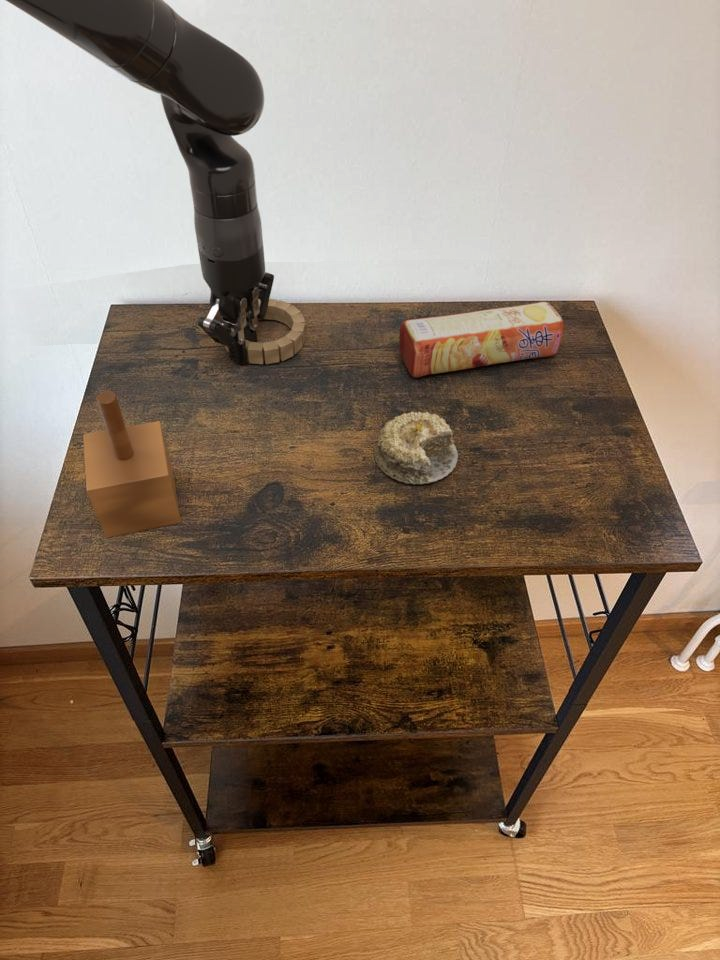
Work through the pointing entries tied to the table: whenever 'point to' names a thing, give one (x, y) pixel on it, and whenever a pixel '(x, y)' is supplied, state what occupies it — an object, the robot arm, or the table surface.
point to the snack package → (480, 338)
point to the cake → (416, 448)
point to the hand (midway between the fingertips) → (244, 356)
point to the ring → (284, 345)
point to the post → (129, 473)
